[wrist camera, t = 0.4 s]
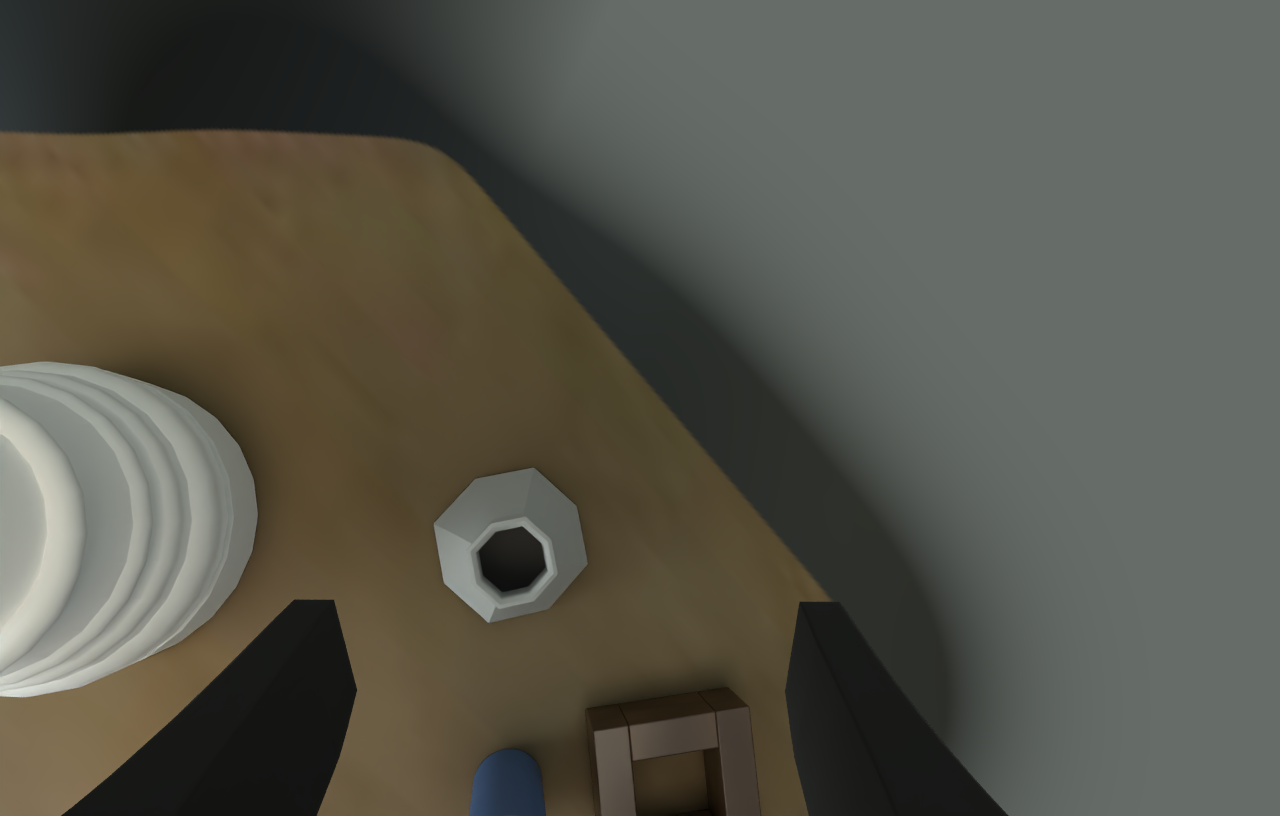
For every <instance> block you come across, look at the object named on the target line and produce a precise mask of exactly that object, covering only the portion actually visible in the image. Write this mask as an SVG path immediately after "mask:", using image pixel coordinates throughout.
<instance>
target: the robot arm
mask: <svg viewBox="0 0 1280 816" xmlns="http://www.w3.org/2000/svg"><path fill="white" fill-rule="evenodd" d="M356 692H357V688H356V684H355V680H354V676H353V673H352V669H351V665H350V661H349V657H348V653H347V649H346V645H345V641H344V637H343V634H342V630H341V626H340V622H339V618H338V614H337V610H336V606H335V602H334V600H293V601H292V602H291V603H290V604H289V605H288V606H287V607H286V608H285V609H284V610H283V611H282V612H281V613H280V614H279V615H278V616H277V617H276V618H275V619H274V620H273V621H272V622H271V623H270V624H269V625H268V626H267V627H266V628H265V629H264V630H263V631H262V632H261V633H260V634H259V635H258V636H257V637H256V638H255V639H254V640H253V641H252V642H251V643H250V644H249V645H248V646H247V647H246V648H245V649H244V650H243V651H242V652H241V653H240V654H239V655H238V656H237V657H236V658H235V659H234V660H233V661H232V662H231V663H230V664H229V665H228V666H227V667H226V668H225V669H224V670H223V671H222V672H221V673H220V674H219V675H218V676H217V677H216V678H215V679H214V680H213V681H212V682H211V683H210V684H209V685H208V686H207V687H206V688H205V689H204V690H203V691H202V692H201V693H200V694H198V695H197V696H196V697H195V698H194V699H193V700H192V701H191V702H190V703H189V704H188V705H187V706H186V707H185V708H184V709H183V710H182V711H181V712H180V713H179V714H178V715H177V716H176V717H175V718H174V719H172V720H171V721H170V722H169V723H168V724H167V725H166V726H165V727H164V728H163V729H162V730H160V731H159V732H158V733H157V734H156V735H155V736H154V737H153V738H152V739H150V740H149V741H148V742H147V743H146V744H145V745H144V746H143V747H142V748H140V749H139V750H138V751H137V752H136V753H135V754H134V755H133V756H132V757H130V758H129V759H128V760H127V761H126V762H125V763H124V764H123V765H122V766H120V767H119V768H118V769H117V770H116V771H115V772H114V773H112V774H111V775H110V776H109V777H108V778H107V779H105V780H104V781H103V782H102V783H101V784H99V785H98V786H97V787H96V788H95V789H94V790H92V791H91V792H90V793H89V794H88V795H86V796H85V797H84V798H83V799H82V800H80V801H79V802H78V803H77V804H75V805H74V806H73V807H72V808H70V809H69V810H68V811H67V812H65V813H64V814H63V815H62V816H317V813H318V811H319V808H320V806H321V803H322V800H323V798H324V795H325V793H326V790H327V788H328V785H329V783H330V780H331V777H332V775H333V772H334V770H335V767H336V764H337V762H338V759H339V756H340V753H341V749H342V746H343V742H344V739H345V735H346V731H347V728H348V724H349V720H350V716H351V712H352V708H353V704H354V700H355V696H356ZM785 694H786V701H787V709H788V716H789V724H790V731H791V737H792V744H793V751H794V757H795V761H796V765H797V769H798V773H799V777H800V781H801V785H802V789H803V793H804V797H805V801H806V805H807V809H808V813H809V816H1008V815H1007V814H1006V813H1005V812H1004V811H1003V810H1002V808H1001V807H1000V806H999V805H998V804H997V803H996V802H995V801H994V800H993V799H992V798H991V796H990V795H989V794H988V793H987V792H986V791H985V790H984V789H983V788H982V787H981V786H980V784H979V783H978V782H977V781H976V780H975V779H974V778H973V776H972V775H971V774H970V773H969V772H968V771H967V769H966V768H965V767H964V766H963V765H962V764H961V763H960V761H959V760H958V759H957V758H956V757H955V756H954V755H953V753H952V752H951V751H950V750H949V749H948V747H947V746H946V745H945V744H944V742H943V741H942V740H941V739H940V738H939V736H938V735H937V734H936V733H935V731H934V730H933V729H932V728H931V727H930V725H929V724H928V723H927V721H926V720H925V719H924V718H923V716H922V715H921V714H920V712H919V711H918V710H917V709H916V707H915V706H914V705H913V703H912V702H911V701H910V700H909V698H908V697H907V696H906V694H905V693H904V692H903V691H902V689H901V688H900V686H899V685H898V684H897V683H896V681H895V680H894V679H893V677H892V676H891V674H890V673H889V672H888V670H887V669H886V667H885V666H884V665H883V663H882V662H881V660H880V659H879V658H878V656H877V655H876V654H875V652H874V651H873V649H872V648H871V646H870V645H869V643H868V642H867V640H866V639H865V638H864V636H863V635H862V633H861V632H860V630H859V629H858V627H857V626H856V624H855V623H854V621H853V620H852V618H851V617H850V615H849V614H848V612H847V611H846V609H845V608H844V607H843V606H842V605H841V604H840V603H839V602H800V603H799V609H798V615H797V621H796V627H795V634H794V640H793V646H792V652H791V658H790V664H789V671H788V677H787V683H786V689H785Z"/></svg>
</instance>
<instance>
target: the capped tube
mask: <svg viewBox="0 0 1280 816" xmlns="http://www.w3.org/2000/svg"><path fill="white" fill-rule="evenodd" d="M469 816H546V812H545V803H544V794H543V785H542V777H541V772H540V769H539V767H538V765H537V763H536V762H535V760H534V759H533V758H532V757H531V756H530V755H528V754H527V753H525V752H523V751H520V750H516V749H504V750H500V751H497V752H495V753H493V754H491V755H490V756H488V757H487V758H486V759H485V760H484V761H483V762H482V763H481V765H480V766H479V768H478V770H477V771H476V774H475V777H474V782H473V789H472V797H471V805H470V813H469Z"/></svg>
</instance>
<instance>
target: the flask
mask: <svg viewBox="0 0 1280 816" xmlns="http://www.w3.org/2000/svg"><path fill="white" fill-rule="evenodd" d="M434 529H435V535H436V541H437V546H438V552H439V558H440V563H441V569H442V575H443V580H444V584H445V585H447V586H448V587H449V588H450V589H451V590H452V591H453V592H454V593H456V594H457V595H458V596H459V597H460V598H461V599H462V600H463V601H465V602H466V603H467V604H468V605H469V606H470V607H471V608H473V609H474V610H475V611H476V612H477V613H478V614H479V615H480V616H482V617H483V618H484V619H485V620H486V621H487V622H488V623H491V622H496V621H500V620H504V619H509V618H513V617H518V616H522V615H526V614H531V613H535V612H539V611H544V610H548V609H549V608H550V607H551V606H552V605H553V603H554V602H555V601H556V600H557V599H558V598H559V597H560V595H561V594H562V593H563V592H564V591H565V590H566V589H567V587H568V586H569V585H570V584H571V583H572V582H573V581H574V579H575V578H576V577H577V576H578V575H579V574H580V572H581V571H582V570H583V569H584V568H585V567H586V566H587V564H588V562H587V557H586V551H585V546H584V541H583V536H582V530H581V525H580V520H579V515H578V509H577V506H576V505H575V504H574V503H573V502H571V501H570V500H569V499H568V498H567V497H566V496H565V495H564V494H563V493H562V492H560V491H559V490H558V489H557V488H556V487H555V486H554V485H553V484H552V483H550V482H549V481H548V480H547V479H546V478H545V477H544V476H543V475H542V474H541V473H539V472H538V471H537V470H536V469H535V468H529V469H524V470H518V471H513V472H508V473H503V474H498V475H493V476H487V477H482V478H477V479H475V480H474V481H473V482H472V483H471V484H470V485H469V486H468V487H467V488H466V489H465V490H464V491H463V493H462V494H461V495H460V496H459V497H458V498H457V499H456V500H455V501H454V502H453V503H452V504H451V505H450V506H449V508H448V509H447V510H446V511H445V512H444V513H443V514H442V515H441V516H440V517H439V518H438V519H437V520H436V521H435V523H434Z"/></svg>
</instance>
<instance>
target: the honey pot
mask: <svg viewBox="0 0 1280 816" xmlns="http://www.w3.org/2000/svg"><path fill="white" fill-rule="evenodd" d="M257 519H258V510H257V502H256V494H255V485H254V479H253V476H252V474H251V472H250V469H249V467H248V465H247V462H246V460H245V458H244V455H243V453H242V451H241V448H240V446H239V445H238V444H237V442H236V441H235V440H234V439H233V438H232V436H231V435H230V434H229V433H228V431H227V430H226V429H225V428H224V427H223V425H222V424H221V423H220V422H219V420H218V419H217V418H216V417H214V416H213V415H211V414H210V413H208V412H207V411H206V410H204V409H203V408H201V407H200V406H199V405H197V404H196V403H194V402H193V401H191V400H190V399H189V398H187V397H185V396H183V395H180V394H177V393H174V392H172V391H169V390H166V389H164V388H161V387H158V386H156V385H153V384H150V383H147V382H143V381H140V380H137V379H134V378H130V377H127V376H124V375H120V374H117V373H113V372H110V371H107V370H102V369H99V368H97V367H92V366H84V365H75V364H66V363H57V362H35V363H27V364H18V365H10V366H2V367H0V696H9V697H30V696H37V695H42V694H47V693H52V692H57V691H63V690H68V689H73V688H78V687H82V686H85V685H87V684H89V683H91V682H94V681H96V680H98V679H100V678H102V677H105V676H107V675H109V674H111V673H114V672H116V671H118V670H120V669H123V668H125V667H127V666H129V665H131V664H134V663H136V662H138V661H140V660H142V659H145V658H147V657H149V656H151V655H153V654H156V653H158V652H160V651H162V650H164V649H166V648H169V647H171V646H173V645H175V644H177V643H180V642H181V641H182V640H183V639H185V638H186V637H187V636H189V635H190V634H191V633H193V632H194V631H195V630H196V629H198V628H199V627H200V626H202V625H203V624H204V623H205V622H207V621H208V620H209V619H211V618H212V617H213V616H214V614H215V613H216V612H217V611H218V609H219V608H220V607H221V606H222V604H223V603H224V602H225V601H226V599H227V598H228V597H229V595H230V594H231V593H232V592H233V590H234V589H235V588H236V587H237V585H238V582H239V580H240V578H241V576H242V574H243V571H244V569H245V567H246V565H247V562H248V560H249V558H250V556H251V553H252V551H253V544H254V538H255V532H256V525H257Z"/></svg>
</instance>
